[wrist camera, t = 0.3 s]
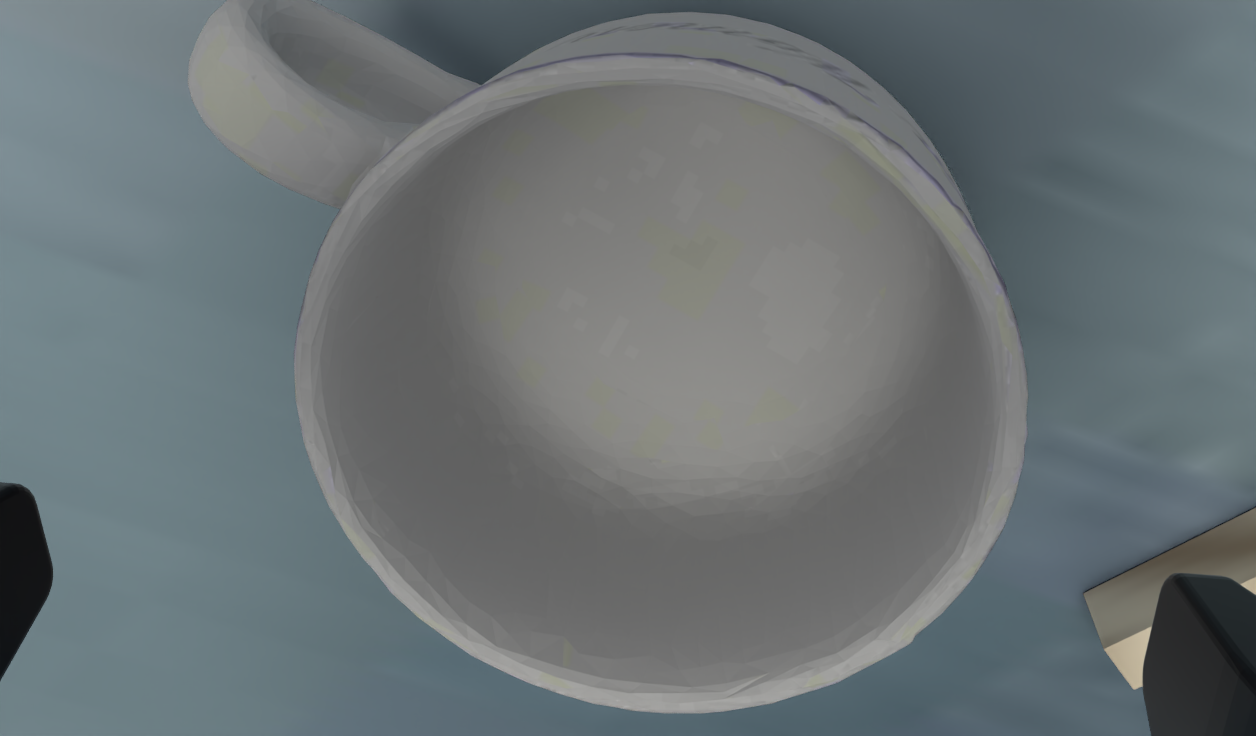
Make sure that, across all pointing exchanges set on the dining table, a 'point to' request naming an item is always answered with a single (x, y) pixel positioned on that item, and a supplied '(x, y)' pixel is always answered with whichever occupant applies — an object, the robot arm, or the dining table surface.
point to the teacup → (636, 346)
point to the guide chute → (1128, 602)
